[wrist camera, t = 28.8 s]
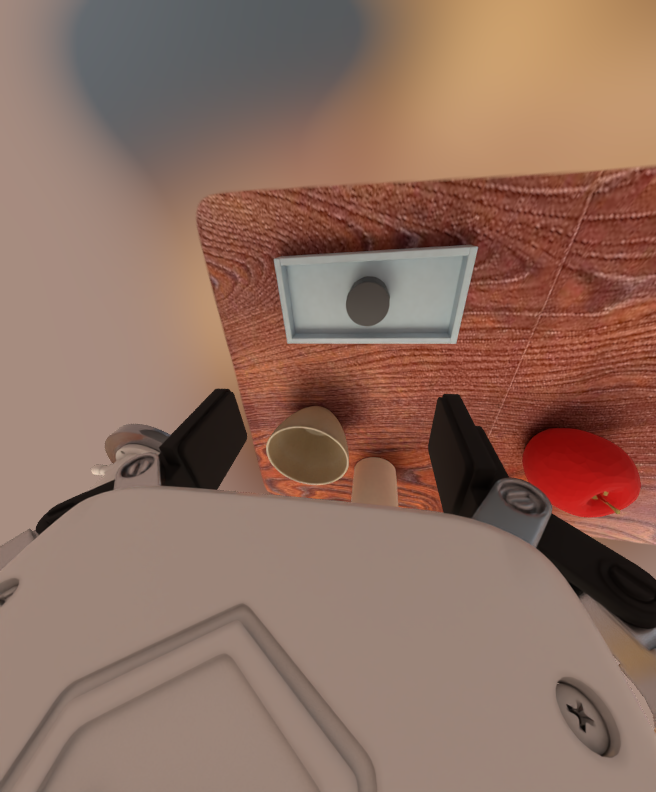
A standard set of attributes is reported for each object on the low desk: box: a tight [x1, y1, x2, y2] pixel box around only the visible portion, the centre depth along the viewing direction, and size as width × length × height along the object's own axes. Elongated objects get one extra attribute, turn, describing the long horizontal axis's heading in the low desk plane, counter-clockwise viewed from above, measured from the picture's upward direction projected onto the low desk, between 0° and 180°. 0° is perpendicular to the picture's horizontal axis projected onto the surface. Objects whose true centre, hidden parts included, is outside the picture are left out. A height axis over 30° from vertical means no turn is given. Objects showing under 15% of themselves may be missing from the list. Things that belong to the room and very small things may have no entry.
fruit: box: [522, 428, 641, 517], centre depth 27 cm, size 9×9×10 cm
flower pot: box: [266, 406, 349, 485], centre depth 33 cm, size 10×10×7 cm
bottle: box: [351, 457, 398, 507], centre depth 34 cm, size 6×6×16 cm
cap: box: [346, 276, 390, 326], centre depth 24 cm, size 4×4×3 cm
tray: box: [274, 245, 478, 344], centre depth 25 cm, size 17×8×2 cm, turn 94°
